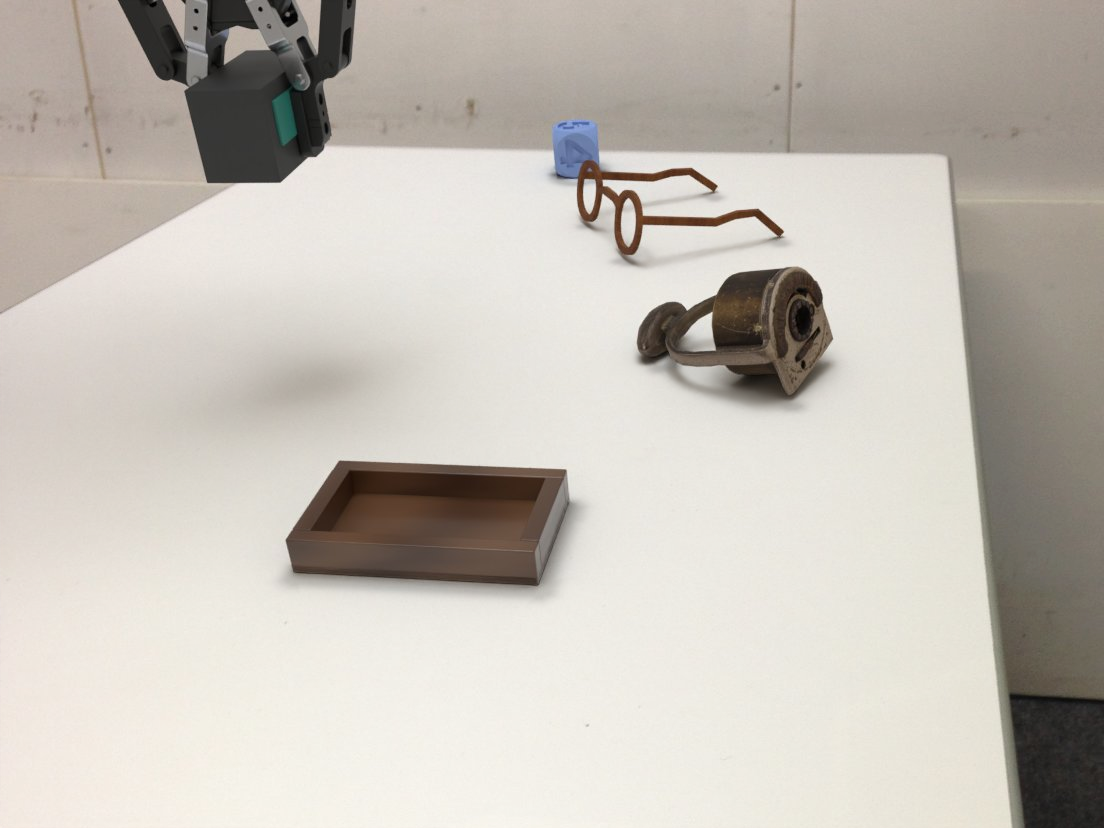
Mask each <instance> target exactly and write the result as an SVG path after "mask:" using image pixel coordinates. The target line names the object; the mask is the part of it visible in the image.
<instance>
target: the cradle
mask: <svg viewBox="0 0 1104 828" xmlns="http://www.w3.org/2000/svg"><path fill="white" fill-rule="evenodd" d="M569 503H570V488H569V478H568V470H567V469H566V468H543V467H519V466H518V467H517V466H493V465H470V464H469V465H467V464H445V463H443V464H440V463H418V462H417V463H416V462H414V463H413V462H393V461H392V462H388V461H368V460H367V461H364V460H338V461H337V463H336V464H335V466H334V467H333V469H332V470H331V471H330V473H329V474H328V476H327V477H326V479H325V480H324V481H323V483H322V484H321V486H320V488H319V489H318V491H317V492H316V493H315V495H314V496H313V498H312V499H311V501H310V502H309V504H307V507H306V508H305V510H304V511H303V512H302V513H301V515H300V517H299V518H298V520H297V521H296V523H295V525H294V526H293V527H292V530H291V531H290V532H289V533H288V535H287V536H286V538H285V544H286V548H287V553H288V556H289V561H290V564H291V565H290V566H291V570H292V572H293V573H308V574H328V575H345V576H364V577H365V576H366V577H382V578H400V579H401V578H403V579H420V580H421V579H422V580H438V581H439V580H441V581H458V582H459V581H460V582H475V583H476V582H477V583H478V582H479V583H494V584H495V583H497V584H518V585H536V586H538V585H539V584H540V581H541V577H542V575H543V573H544V570H545V567H546V566H547V565H546V564H547V562H548V559H549V556H550V554H551V551H552V548H553V546H554V543H555V540H556V537H557V535H558V532H559V530H560V527H561V525H562V522H563V519H564V516H565V514H566V511H567V509H568V506H569Z"/></svg>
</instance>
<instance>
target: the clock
mask: <svg viewBox="0 0 1104 828" xmlns="http://www.w3.org/2000/svg"><path fill="white" fill-rule="evenodd" d="M315 50H316V51H317V49H316V48H315ZM293 89H294V88H293V86H292V85H291V83H290V81H289V79H288V77H287V75H286V73H285V71H284V69H283V67H282V65H281V63H280V61H279V59H278V57H277V55H276V54H275V53H274V52H273V51H271V50H270V49H251V50H250V49H249V50H247V49H246V50H244V51H243V52H242V53H240V54H238V55H237V56H235V57H233V58H232V59H230V60H229V61H228V62H226V63H224V65H223V66H221V67H220V68H218V69H217V70H215V71H214V72H212V73H211V74H209V75H208V76H206V77H204V78H203V79H201V80H200V81H198V82H197V83H195V84H194V85H192V86H191V87H187V88H185V90H184V91H183V92H184V96H185V100H186V104H187V108H188V112H189V117H190V120H191V124H192V128H193V132H194V136H195V137H194V138H195V141H196V144H197V149H198V152H199V156H200V161H201V163H202V164H201V165H202V168H203V172H204V176H205V177H204V178H205V181H206V183H207V184H281V183H282V182H283V181H284V180H285V179H286V178H288V177H289V176H290V175H291V174H292V173H293V172H294V171H295V170H296V169H298V168H299V166H301V165H302V164H303V163H304V162H305V161H306V160H307V159H308V158H309V157H303V156H302V154H301V151H300V146H299V141H298V136H297V129H296V124H295V119H294V114H293V110H292V105H291V100H290V95H289V92H290V91H292V90H293ZM332 136H333V133H331V135H330V138H331V137H332Z"/></svg>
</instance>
